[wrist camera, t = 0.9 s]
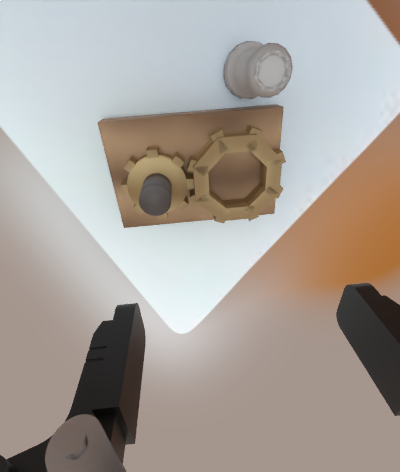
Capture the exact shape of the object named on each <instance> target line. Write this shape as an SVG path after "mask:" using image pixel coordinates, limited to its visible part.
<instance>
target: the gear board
mask: <svg viewBox="0 0 400 472" xmlns="http://www.w3.org/2000/svg"><path fill="white" fill-rule="evenodd" d="M282 117H283V107H282V106H279V105H266V106H254V107H242V108H230V109H218V110H207V111H195V112H183V113H171V114H159V115H147V116H135V117H123V118H112V119H102V120H101V121H99V122H98V126H99V130H100V134H101V138H102V142H103V146H104V150H105V154H106V158H107V162H108V166H109V170H110V174H111V178H112V182H113V186H114V190H115V194H116V198H117V202H118V206H119V210H120V214H121V218H122V222H123V226H124V228H127V227H138V226H148V225H159V224H169V223H180V222H190V221H201V220H211V219H214V221H217V222H221V223H224V222H225V221H226V220H237V219H247V218H248V219H249V221H250V220H252V219H254V218H257V217H259V216H258V215H264V214H274V209H275V198H278V197H279V196H280V194H281V192H282V190H283V188H282V187H281V186H280V176H281V165H282V163H284V162H286V161H285V158H284V155H283V152H282V151H281V150H280V140H281V129H282Z"/></svg>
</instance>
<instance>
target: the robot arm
mask: <svg viewBox="0 0 400 472" xmlns="http://www.w3.org/2000/svg"><path fill="white" fill-rule="evenodd" d="M337 321H338V324H339V326H340V328H341V330H342V331H343V333H344V335H345V336H346V338H347V340H348V341H349V343H350V344H351V346H352V347H353V349H354V351H355V352H356V354H357V356H358V357H359V359H360V360H361V362H362V364H363V365H364V367H365V368H366V370H367V371H368V373H369V375H370V376H371V378H372V380H373V381H374V383H375V384H376V386H377V388H378V389H379V391H380V393H381V394H382V396H383V397H384V399H385V400H386V402H387V404H388V405H389V407H390V409H391V410H392V412H393V413H394V415H395V416H397V415H400V305H399V304H397V303H396V302H394V301H393V300H391V299H390V298H388V297H387V296H381V295H380V294H379V292H378V291H377V290H376V289H375V288H374V287H373V286H372V285H371V284H369V283H362V284H352V285H347V286H346V287H345V288H344V291H343V294H342V297H341V300H340V303H339V306H338V309H337ZM89 348H90V350H89V351H88V354H87V357H86V363H85V364H84V368H83V371H82V374H81V378H80V381H79V384H78V388H77V391H76V394H75V397H74V401H73V404H72V407H71V410H70V413H69V415H68V417H67V419H66V420H65V422H64V423H63V424H62V425H61V426H60V427H59V428H58V429H57V430H56V432H55V433H54V434H53V435H52V436H51V437H50V438H49V439H47V440H46V441H44V442H42V443H41V444H39V445H37V446H34V447H32V448H30V449H28V450H26V451H24V452H22V453H19V454H17V455H15V456H13V457H11V458H9V459H5V458H4V457H2V456H1V455H0V472H126V470H125V468H124V466H123V458H124V450H125V445H126V444H135V438H136V428H137V418H138V409H139V400H140V390H141V380H142V371H143V362H144V352H145V329H144V325H143V321H142V317H141V313H140V309H139V305H138V303H136V304H124V305H118V306H117V307H116V309H115V314H114V318H113V320H110V321H103V322H102V323H101V324H100V326H99V327H98V328H97V330H96V331H95V333H94V334H93V337H92V341H91V344H90V347H89Z"/></svg>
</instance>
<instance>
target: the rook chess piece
mask: <svg viewBox="0 0 400 472" xmlns="http://www.w3.org/2000/svg"><path fill="white" fill-rule="evenodd" d="M291 72H292V61H291V56H290V55H289V53H288V51H287V50H286V48H284V47H283V46H281V45H280V44H277V43H268V44H265V45H263V44H261V43H260V42H251V41H246V42H244V43H242V44H239V45H237V46H236V47H235V48H234V49H233V50H232V51H231V52H230V53H229V56H228V58H227V60H226V63H225V67H224V78H225V82H226V86H227V87H228V89H229V90H230V91H231V93H232V94H234V95H236V96H237V97H239V98H248V99H252V98H254V97H257V96H260V97H272V96H275V95H277V94H279V93H280V92H281V91H282V90H283V89H284V88H285V87H286V85H287V83H288V82H289V80H290V78H291Z"/></svg>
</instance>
